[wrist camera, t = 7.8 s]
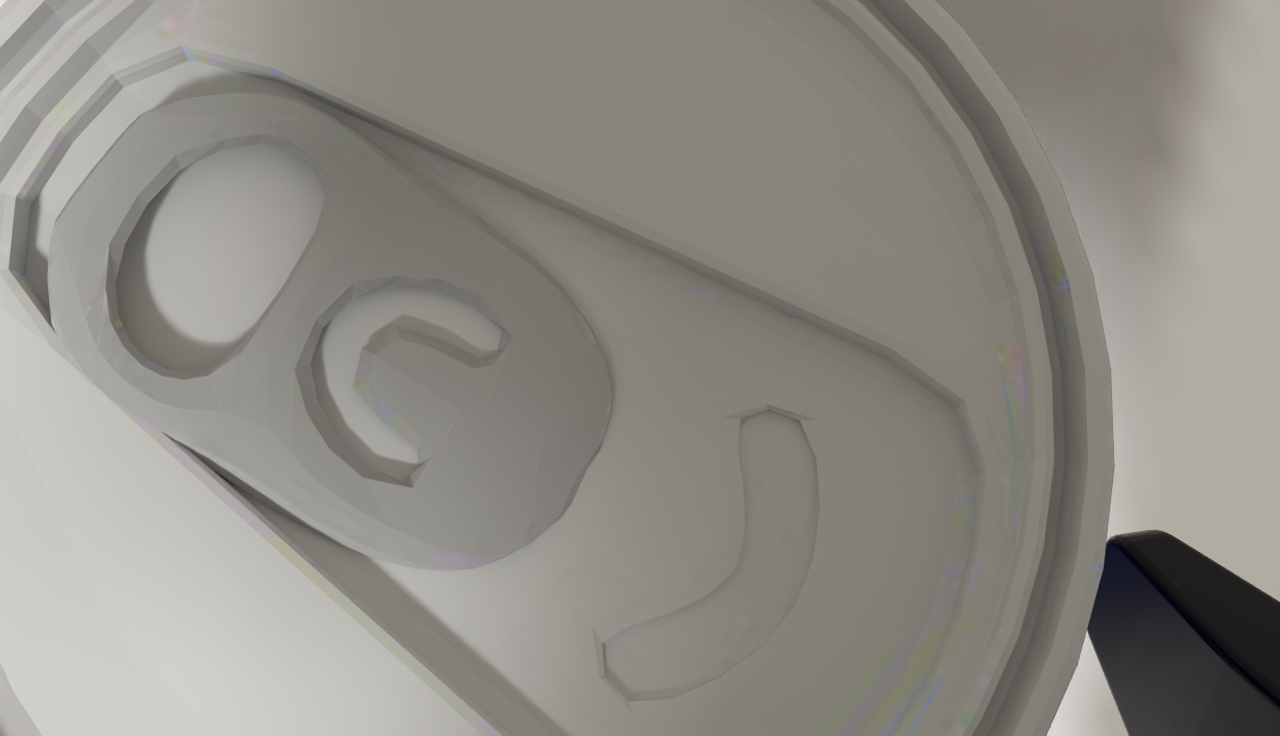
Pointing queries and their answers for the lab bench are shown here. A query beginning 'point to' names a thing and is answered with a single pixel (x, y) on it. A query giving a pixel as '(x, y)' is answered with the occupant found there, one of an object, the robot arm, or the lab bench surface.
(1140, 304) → the lab bench surface
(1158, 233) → the lab bench surface
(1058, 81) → the lab bench surface
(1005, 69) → the lab bench surface
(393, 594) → the beverage can
